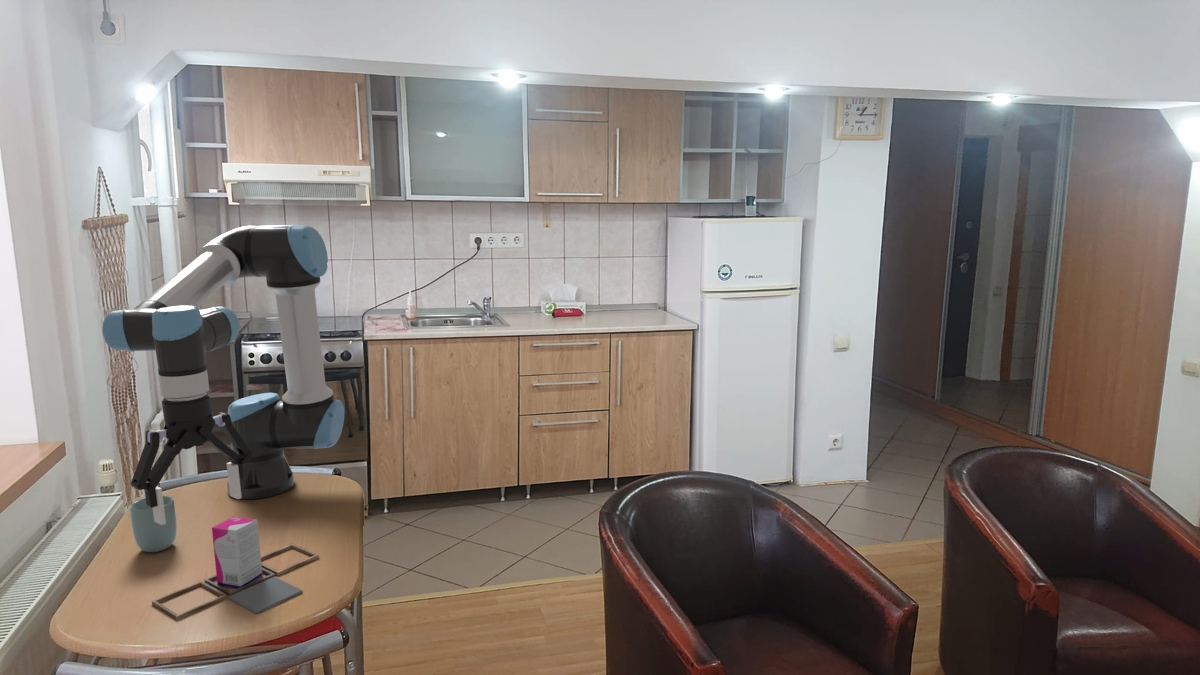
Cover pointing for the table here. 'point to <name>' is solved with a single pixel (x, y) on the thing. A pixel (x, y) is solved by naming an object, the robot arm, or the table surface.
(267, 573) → the frame
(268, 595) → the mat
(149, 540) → the cup
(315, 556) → the frame
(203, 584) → the frame
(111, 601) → the table surface
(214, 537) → the supplement box
